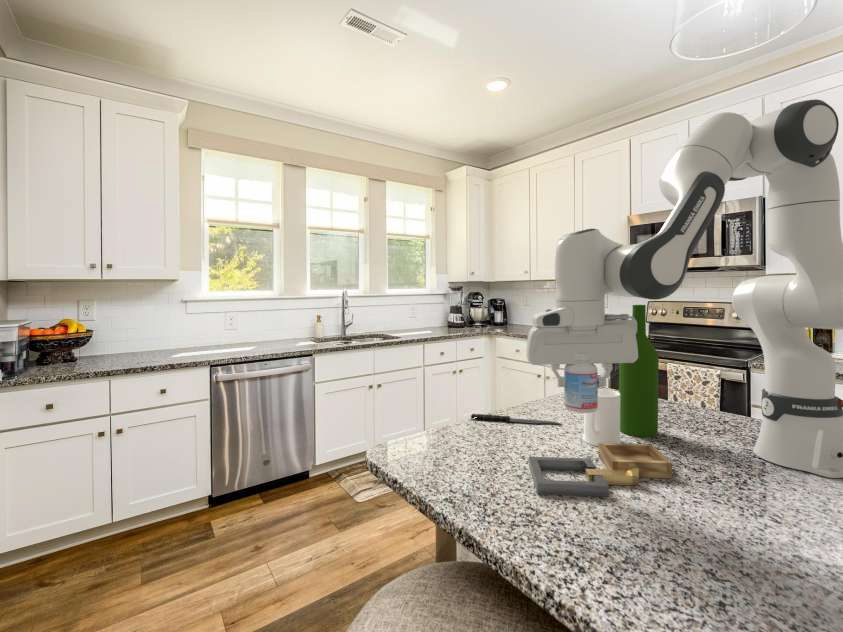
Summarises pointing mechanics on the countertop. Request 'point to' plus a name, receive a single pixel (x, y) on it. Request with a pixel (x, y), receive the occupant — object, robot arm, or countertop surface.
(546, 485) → the socket
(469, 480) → the countertop surface
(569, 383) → the pill bottle
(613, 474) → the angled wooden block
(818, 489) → the countertop surface
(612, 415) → the mug
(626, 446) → the tray
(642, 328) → the wine bottle
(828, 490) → the countertop surface
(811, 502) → the countertop surface
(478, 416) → the knife
